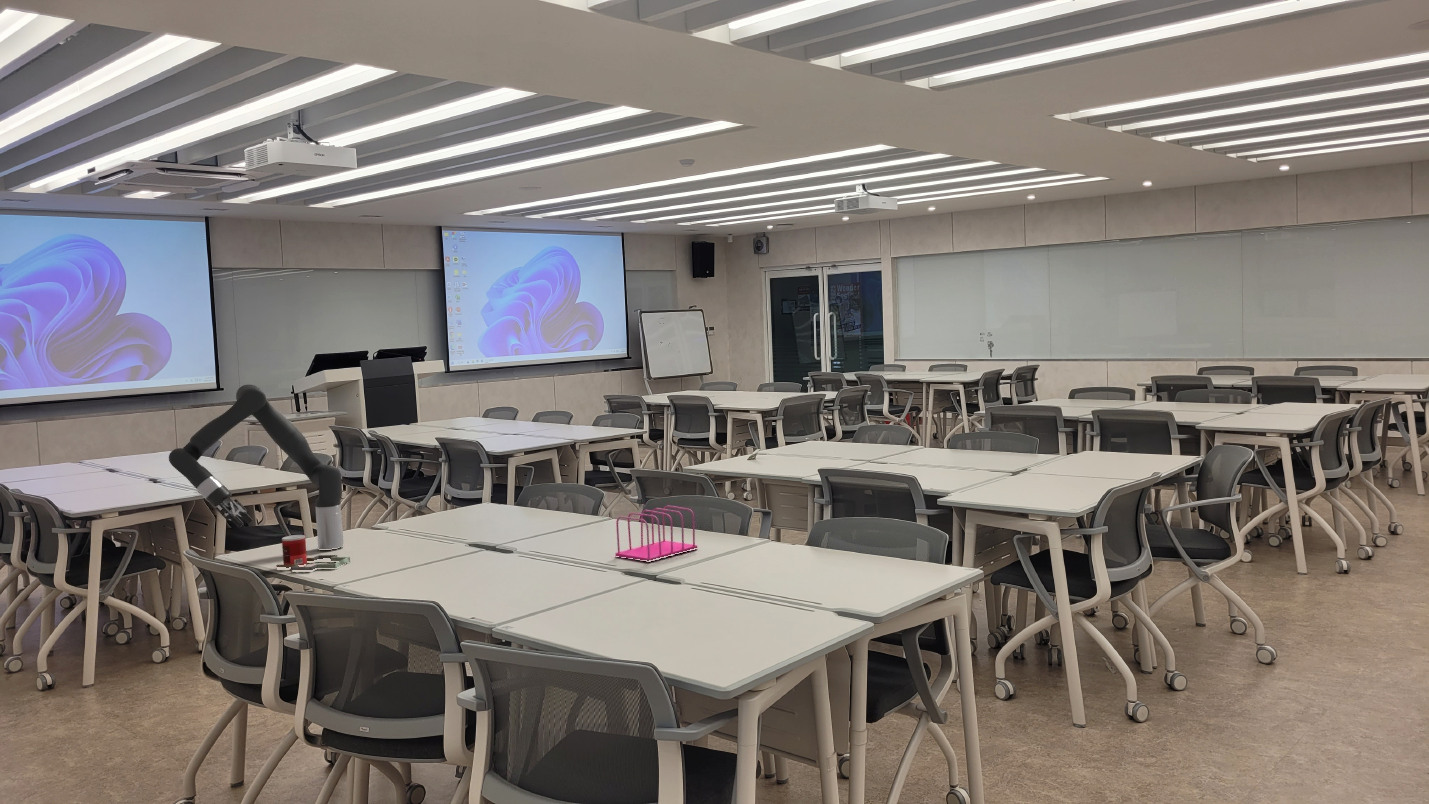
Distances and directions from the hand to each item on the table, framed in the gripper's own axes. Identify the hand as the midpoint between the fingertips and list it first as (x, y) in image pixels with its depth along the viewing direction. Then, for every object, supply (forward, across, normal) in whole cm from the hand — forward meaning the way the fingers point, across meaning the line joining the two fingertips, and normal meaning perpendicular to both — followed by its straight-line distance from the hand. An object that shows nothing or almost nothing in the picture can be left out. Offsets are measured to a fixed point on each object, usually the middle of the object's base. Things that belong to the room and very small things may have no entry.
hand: (246, 523), depth 352 cm
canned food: (+24, -1, -2) cm, 24 cm away
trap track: (+28, -2, -7) cm, 29 cm away
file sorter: (+110, -12, -101) cm, 149 cm away
